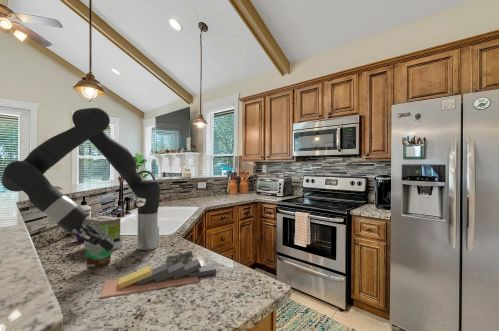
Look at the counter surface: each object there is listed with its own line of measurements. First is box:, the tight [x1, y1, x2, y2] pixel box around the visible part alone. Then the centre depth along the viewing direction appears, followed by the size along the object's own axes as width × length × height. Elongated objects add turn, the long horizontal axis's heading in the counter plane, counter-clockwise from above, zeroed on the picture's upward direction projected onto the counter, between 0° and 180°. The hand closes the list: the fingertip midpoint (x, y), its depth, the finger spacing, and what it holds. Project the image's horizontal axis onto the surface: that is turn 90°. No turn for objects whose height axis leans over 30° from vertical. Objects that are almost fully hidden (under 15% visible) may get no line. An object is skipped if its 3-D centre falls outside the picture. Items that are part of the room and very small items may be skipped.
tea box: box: [84, 215, 121, 251], centre depth 124 cm, size 15×10×15 cm, turn 58°
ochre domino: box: [118, 265, 152, 289], centre depth 85 cm, size 2×5×10 cm
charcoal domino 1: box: [137, 263, 169, 286], centre depth 87 cm, size 2×5×10 cm
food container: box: [83, 236, 114, 270], centre depth 103 cm, size 12×6×10 cm, turn 168°
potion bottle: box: [73, 229, 85, 243], centre depth 135 cm, size 9×9×12 cm
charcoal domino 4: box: [187, 264, 217, 278], centre depth 94 cm, size 2×5×10 cm
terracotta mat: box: [99, 275, 200, 299], centre depth 87 cm, size 30×12×1 cm, turn 113°
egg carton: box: [165, 250, 194, 267], centre depth 105 cm, size 11×8×4 cm
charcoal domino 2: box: [155, 262, 185, 283], centre depth 90 cm, size 2×5×10 cm
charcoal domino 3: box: [173, 258, 202, 280], centre depth 92 cm, size 2×5×10 cm
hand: (111, 248), depth 83 cm, fingers closed
